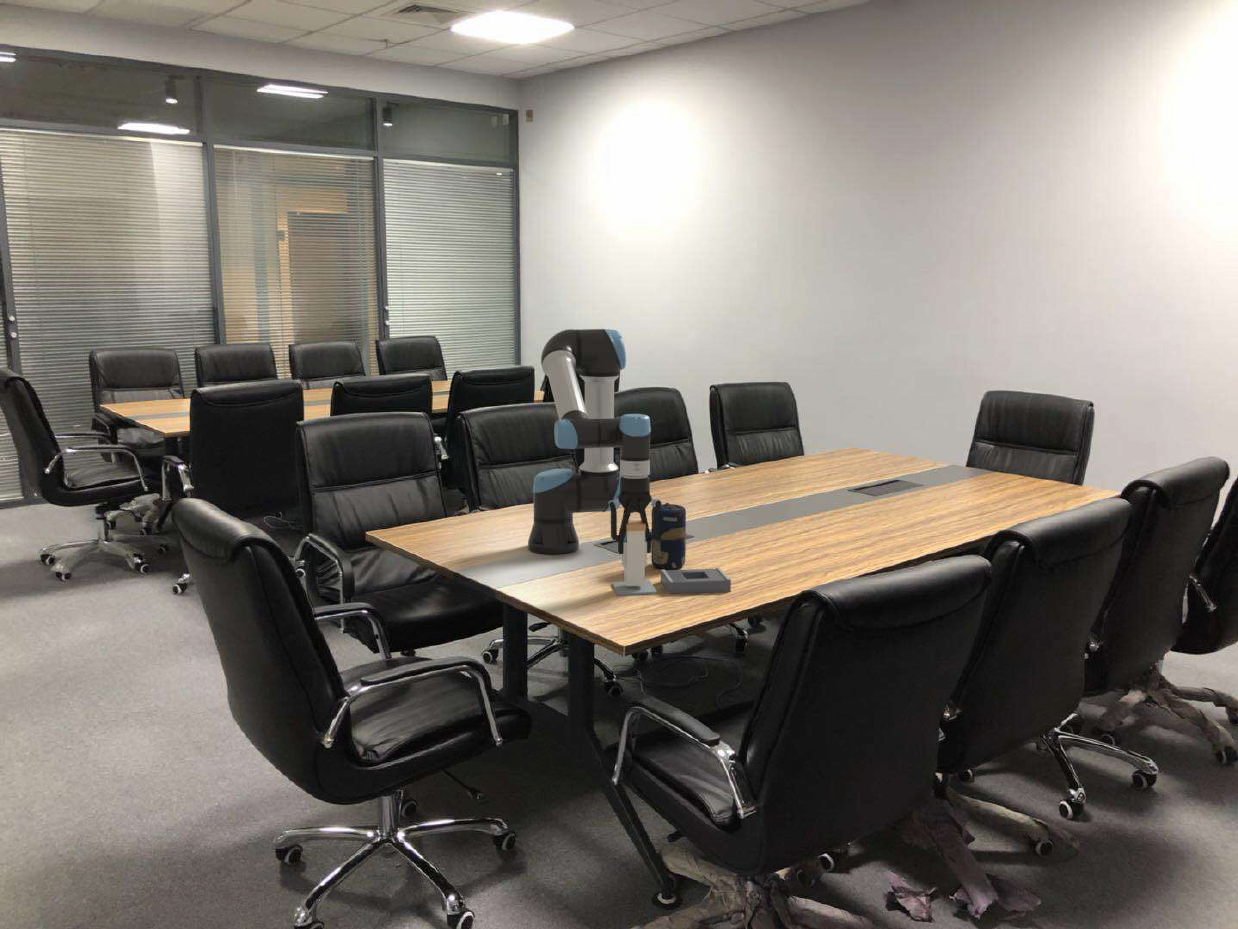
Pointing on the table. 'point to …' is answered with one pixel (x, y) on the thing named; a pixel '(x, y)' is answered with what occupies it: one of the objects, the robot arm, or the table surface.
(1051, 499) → the table surface
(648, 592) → the pad
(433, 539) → the table surface
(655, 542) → the canister
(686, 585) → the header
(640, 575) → the plug
